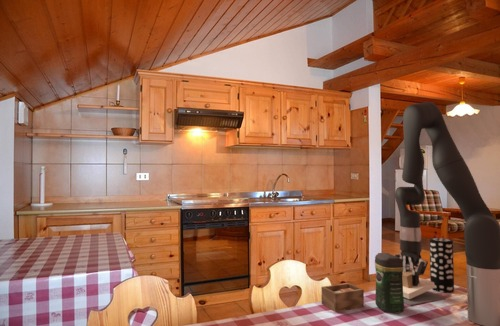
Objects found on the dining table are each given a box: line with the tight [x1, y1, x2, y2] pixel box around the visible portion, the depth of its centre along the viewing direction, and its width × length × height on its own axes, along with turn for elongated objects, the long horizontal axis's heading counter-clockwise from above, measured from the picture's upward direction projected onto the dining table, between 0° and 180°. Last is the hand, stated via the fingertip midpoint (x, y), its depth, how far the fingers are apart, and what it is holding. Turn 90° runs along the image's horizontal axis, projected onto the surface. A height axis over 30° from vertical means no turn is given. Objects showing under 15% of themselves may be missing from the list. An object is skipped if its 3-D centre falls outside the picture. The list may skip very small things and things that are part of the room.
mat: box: [403, 291, 447, 307], centre depth 129 cm, size 18×15×1 cm
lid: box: [402, 269, 435, 299], centre depth 129 cm, size 13×9×6 cm
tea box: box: [320, 282, 365, 313], centre depth 119 cm, size 12×8×6 cm, turn 113°
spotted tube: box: [429, 237, 455, 294], centre depth 137 cm, size 8×8×20 cm
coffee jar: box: [374, 252, 405, 314], centre depth 117 cm, size 10×8×19 cm
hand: (411, 283), depth 129 cm, fingers closed on lid, 3 cm apart
